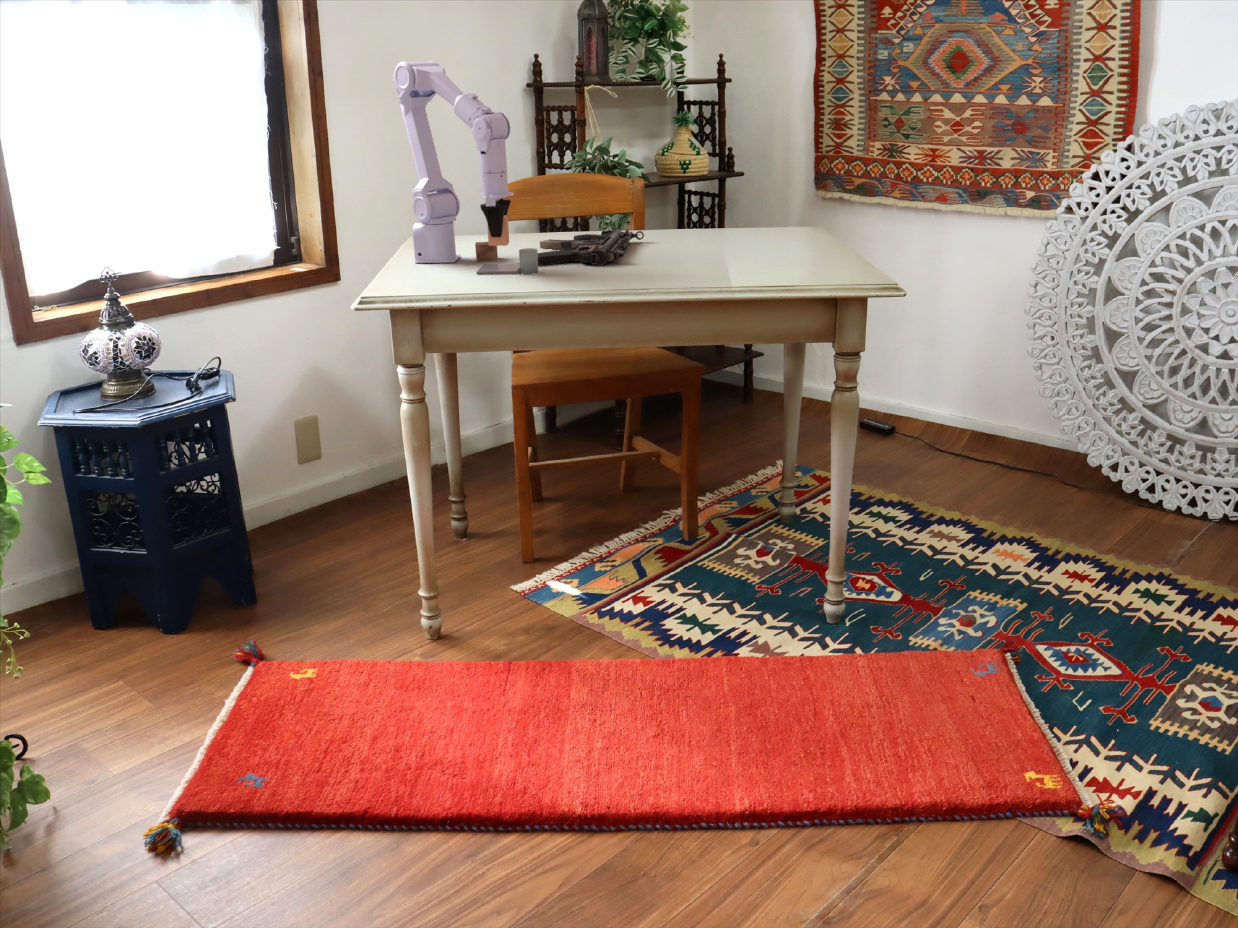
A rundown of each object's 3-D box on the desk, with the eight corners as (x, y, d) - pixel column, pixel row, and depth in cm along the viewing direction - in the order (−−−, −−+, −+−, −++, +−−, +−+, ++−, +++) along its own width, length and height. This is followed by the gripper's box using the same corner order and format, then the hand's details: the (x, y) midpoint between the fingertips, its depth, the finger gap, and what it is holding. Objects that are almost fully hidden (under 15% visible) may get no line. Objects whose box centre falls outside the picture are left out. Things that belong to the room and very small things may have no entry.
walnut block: (476, 262, 248) (475, 245, 246) (476, 259, 252) (475, 242, 250) (498, 261, 248) (496, 244, 247) (497, 258, 252) (496, 241, 251)
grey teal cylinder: (519, 274, 233) (517, 251, 231) (521, 271, 236) (520, 248, 235) (537, 274, 232) (536, 251, 231) (539, 270, 236) (538, 248, 234)
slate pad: (476, 274, 234) (476, 271, 233) (483, 266, 242) (483, 264, 242) (517, 273, 233) (517, 271, 233) (522, 266, 242) (522, 263, 241)
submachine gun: (547, 230, 271) (644, 225, 266) (549, 247, 272) (645, 242, 268) (516, 253, 240) (625, 247, 236) (518, 272, 242) (626, 267, 238)
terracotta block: (488, 245, 234) (487, 218, 231) (491, 242, 237) (490, 215, 235) (506, 245, 233) (505, 218, 231) (509, 242, 237) (507, 215, 235)
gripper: (507, 175, 223) (511, 240, 228) (516, 168, 236) (520, 229, 241) (474, 176, 223) (478, 241, 228) (485, 168, 237) (489, 230, 242)
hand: (497, 235), depth 235 cm, fingers closed on terracotta block, 4 cm apart
